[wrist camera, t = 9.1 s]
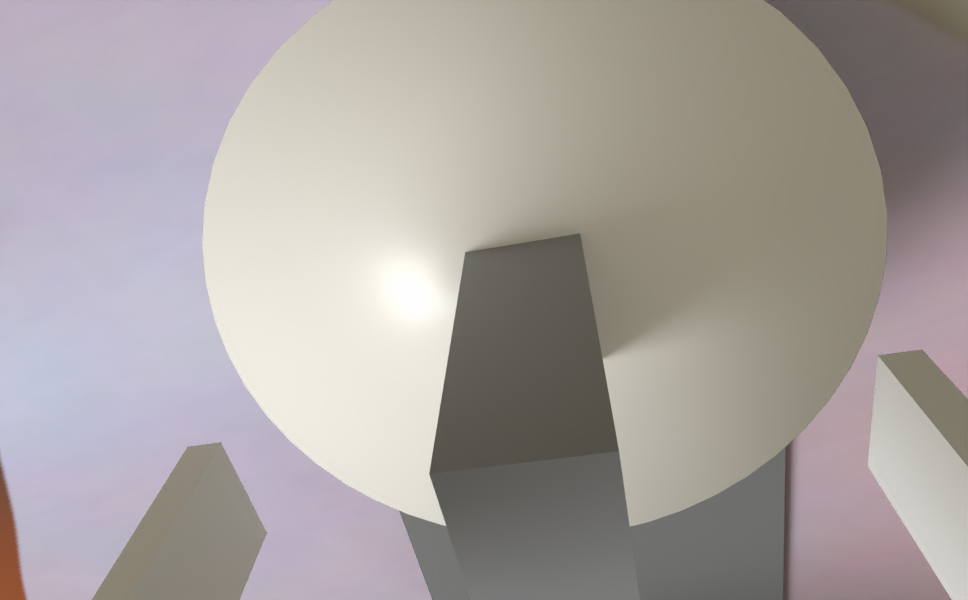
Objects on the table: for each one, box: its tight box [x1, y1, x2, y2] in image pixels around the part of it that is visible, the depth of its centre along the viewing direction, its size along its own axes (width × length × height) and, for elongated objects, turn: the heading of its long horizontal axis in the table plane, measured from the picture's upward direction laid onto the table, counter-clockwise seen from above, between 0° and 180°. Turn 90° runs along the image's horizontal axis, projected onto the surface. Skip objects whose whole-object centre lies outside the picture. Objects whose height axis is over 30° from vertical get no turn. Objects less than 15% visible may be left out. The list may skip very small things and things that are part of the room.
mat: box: [400, 447, 786, 600], centre depth 34 cm, size 19×19×1 cm
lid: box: [202, 0, 887, 600], centre depth 16 cm, size 18×18×10 cm
